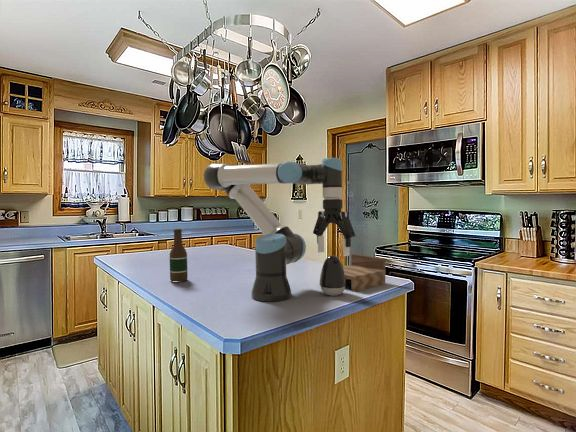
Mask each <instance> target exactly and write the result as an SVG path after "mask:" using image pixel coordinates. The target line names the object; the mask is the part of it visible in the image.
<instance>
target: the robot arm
mask: <svg viewBox="0 0 576 432" xmlns="http://www.w3.org/2000/svg"><path fill="white" fill-rule="evenodd" d="M342 163H343V162H342V160H341V159H340V158H339V157H326V158H323V159H322V161H321V163H320V164H310V165H309V164H304V163H297V162H294V161H285V162H283V163H262V164H244V165H242V164H241V165H237V164H227V163H220V162H214V163H213V162H212V163H211V164H209V165H207V167H206V168H205V170H204V171H203V180H204V183H205V185H206V186H207V187H208V188H210V189H211V190H214V191H223V192H225V194H226V195H227V197H229V199H232V200H235V201H236V202H237V203H238V204H239V206H240V207H241V208H242V209H243V211H244V212H245V214H247V216H248V217H249V218H250V220H251V221H252V222H253V223H254V224H255V225H256V227H257V228H258V229H259V230H260V232H261V233H262V235H259V236H258V237H257V238H256V240H255V245H254V250H255V251H254V252H255V278H254V279H255V280H254V282H253V286H252V289H251V298H252V299H253V300H256V301H259V302H281V301H286V300H287V299H290V298H291V297H292V289H291V286H290V285H291V284H290V283H289V281H288V276H287V265H289V264H293V263H297V262H298V261H300V260H301V259H302V258H303V257H304V256H305V253H306V247H307V245H306V241H305V239H304V238H303V237H302V236H301V235H300V234H299V233H298V234H297V233H294V232H293V231H292V230H291V229H290V227H289V226H287V225H282V223H281V222H280V221H279V220H278V218H277V217H276V215H275V214H273V212H272V211H271V210H270V209H269V207H268V206H267V205H266V204H265V203H264V202H263V200H262V199H261V198H260V196H259V195H258V194H257V193H256V192H255V191H254V189H253V188H252V187H251V185H266V184H267V185H271V184H272V185H273V184H274V185H275V184H277V185H279V184H283V185H285V184H296V185H297V186H299V185H300V186H307V185H320V184H321V185H322V209H323V210H321V211H318V212H317V219H316V221H315V224H314V227H313V228H314V229H313V230H312V234H314V235H315V236H316V243H317V253H324V252H325V235H324V234H325V231H326V230H327V228H328V226H329V224H335V225H337V227H338V229H339V231H340V232H341V234H342V235H343V238H342V253H343V254H342V256H343V257H348V256H351V255H350V253H351V252H350V251H351V250H350V249H351V247H352V238H353V237H356V233H355V230H354V228H353V225H352V222H351V220H350V218H349V212H348V211H342V209H343V199H342V198H343V167H342Z"/></svg>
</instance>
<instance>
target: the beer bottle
mask: <svg viewBox="0 0 576 432" xmlns="http://www.w3.org/2000/svg"><path fill="white" fill-rule="evenodd" d="M182 232H183V229H181V228H174V229H173V247H172V248H171V250H170V252H169V278H170V280H171V281H184V282H186V281H188V273H189V272H188V253H187V251H186V250H187V249H186V248H185V247H184V245H183V238H182ZM185 280H186V281H185ZM171 281H170V282H171Z"/></svg>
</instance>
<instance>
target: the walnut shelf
mask: <svg viewBox="0 0 576 432" xmlns="http://www.w3.org/2000/svg"><path fill="white" fill-rule="evenodd" d="M350 256H351V264H348V265H342V266H343V270H344V274H345V279H346V281H347V280H351V281H350V282H351V286H350V287H351V292H353V293H354V292H359V291H362V290H367V289H370V288H375V287H378V286H382V285H386V258H383V257H378V256H377V257H375V256H371V255H363V254H362V255H361V254H356V253H351V255H350Z"/></svg>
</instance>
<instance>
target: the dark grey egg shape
mask: <svg viewBox="0 0 576 432" xmlns="http://www.w3.org/2000/svg"><path fill="white" fill-rule="evenodd" d="M343 266H344V265H343V264H342V262H341V259H340V258H339V257H338V256H336V255H334V254H332V255H328V256H327V257H326V258H325V260H324V262H323V265H322V267H321V270H320V271H321V272H320V275H319V276H320V277H319V286H320V289H321V291H322V293H323V294H324V295H327V296H330V297H331V296H333V297H335V296H339V295H341V294H343V293H344V291H345V288H346V286H347V280H346V279H345V274H344V270H343Z"/></svg>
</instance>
